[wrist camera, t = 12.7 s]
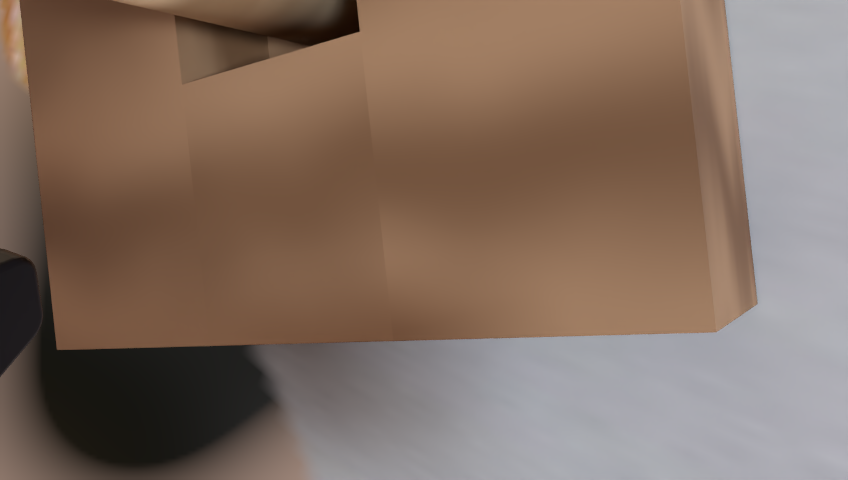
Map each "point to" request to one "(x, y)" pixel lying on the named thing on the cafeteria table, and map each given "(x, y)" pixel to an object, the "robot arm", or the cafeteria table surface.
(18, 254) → the robot arm
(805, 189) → the cafeteria table surface
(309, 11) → the beech pin
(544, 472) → the cafeteria table surface
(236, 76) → the socket block
